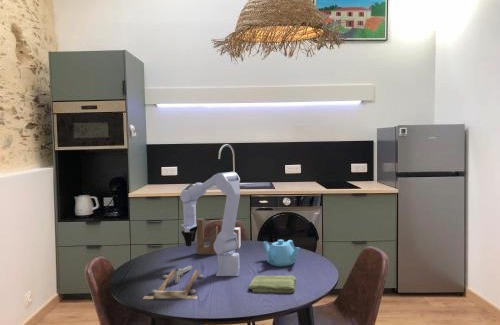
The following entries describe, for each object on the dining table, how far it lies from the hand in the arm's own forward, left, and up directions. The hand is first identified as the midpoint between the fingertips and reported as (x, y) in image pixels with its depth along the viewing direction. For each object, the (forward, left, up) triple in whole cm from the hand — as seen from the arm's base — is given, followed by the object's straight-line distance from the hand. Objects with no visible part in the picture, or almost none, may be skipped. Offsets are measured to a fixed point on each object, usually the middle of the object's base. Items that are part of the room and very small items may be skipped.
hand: (190, 243), depth 178 cm
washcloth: (-38, +28, -10) cm, 48 cm away
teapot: (-42, -1, -10) cm, 43 cm away
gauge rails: (0, +25, -10) cm, 27 cm away
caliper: (0, +15, -10) cm, 18 cm away
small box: (-17, -27, -10) cm, 34 cm away
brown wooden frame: (-5, -16, -10) cm, 20 cm away
